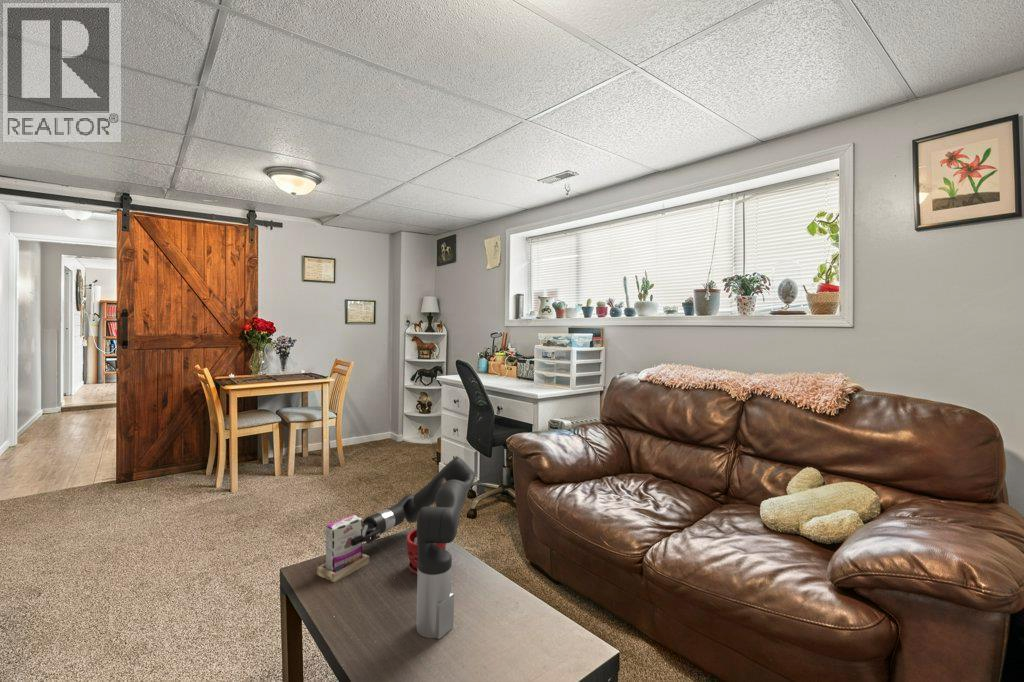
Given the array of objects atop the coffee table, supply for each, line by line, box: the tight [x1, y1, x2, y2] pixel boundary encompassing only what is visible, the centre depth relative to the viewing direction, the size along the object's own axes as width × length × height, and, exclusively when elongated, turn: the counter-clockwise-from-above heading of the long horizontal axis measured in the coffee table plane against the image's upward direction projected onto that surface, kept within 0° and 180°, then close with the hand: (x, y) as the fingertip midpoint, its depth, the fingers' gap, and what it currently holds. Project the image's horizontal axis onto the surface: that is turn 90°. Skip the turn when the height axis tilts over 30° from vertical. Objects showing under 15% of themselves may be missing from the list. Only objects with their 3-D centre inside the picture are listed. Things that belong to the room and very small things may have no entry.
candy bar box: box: [325, 514, 363, 573], centre depth 159 cm, size 11×5×16 cm, turn 142°
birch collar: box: [316, 552, 370, 583], centre depth 159 cm, size 8×14×2 cm, turn 149°
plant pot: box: [406, 528, 447, 575], centre depth 160 cm, size 13×13×12 cm
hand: (342, 539), depth 159 cm, fingers open, 8 cm apart
